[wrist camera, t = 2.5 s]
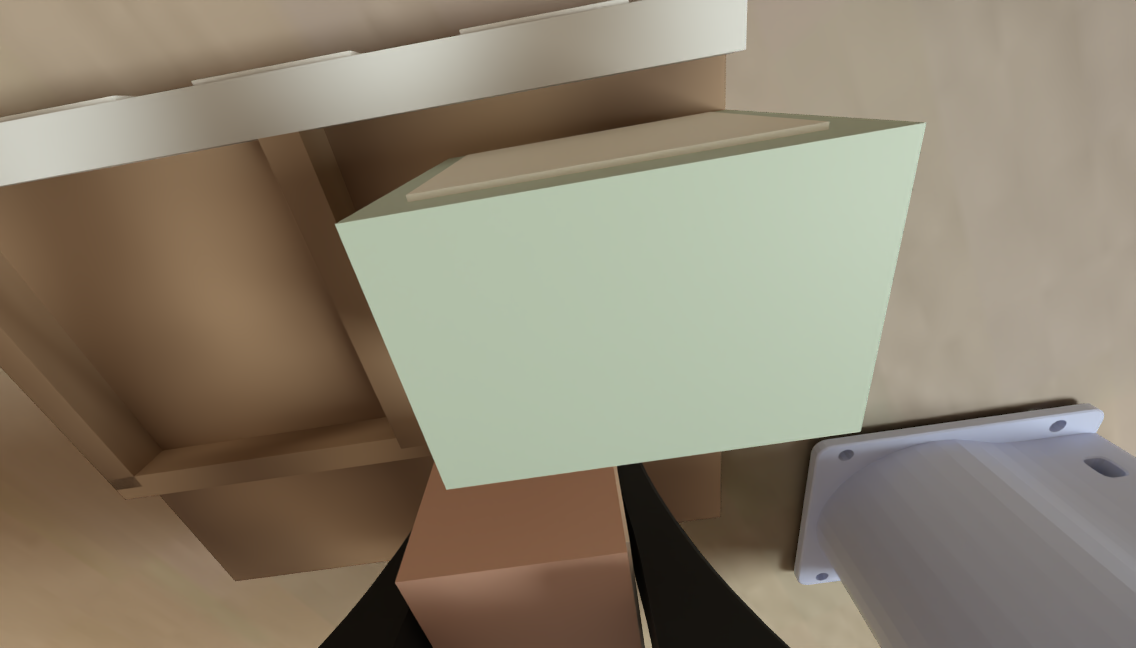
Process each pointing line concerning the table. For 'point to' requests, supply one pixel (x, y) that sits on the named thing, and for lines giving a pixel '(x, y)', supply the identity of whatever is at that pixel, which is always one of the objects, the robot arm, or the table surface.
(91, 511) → the table surface
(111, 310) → the brown flat rectangular tray
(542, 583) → the terracotta box
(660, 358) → the sage box
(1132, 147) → the table surface
